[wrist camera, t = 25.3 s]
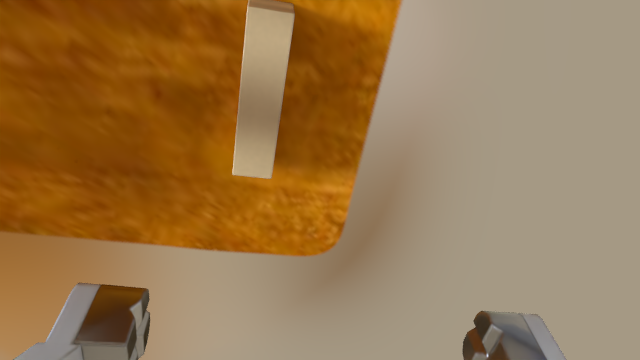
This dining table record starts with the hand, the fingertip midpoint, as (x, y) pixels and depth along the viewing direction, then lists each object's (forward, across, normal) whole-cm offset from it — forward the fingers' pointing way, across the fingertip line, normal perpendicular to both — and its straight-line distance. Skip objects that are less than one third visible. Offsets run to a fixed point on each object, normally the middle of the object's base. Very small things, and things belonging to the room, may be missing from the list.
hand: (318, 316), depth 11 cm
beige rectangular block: (+19, +2, +2) cm, 19 cm away
